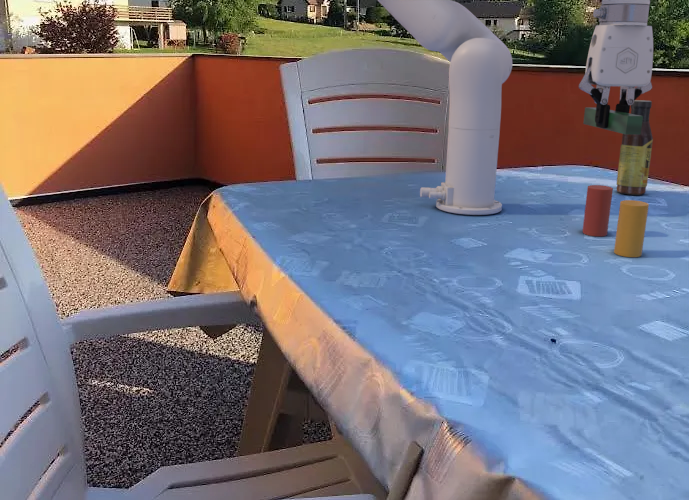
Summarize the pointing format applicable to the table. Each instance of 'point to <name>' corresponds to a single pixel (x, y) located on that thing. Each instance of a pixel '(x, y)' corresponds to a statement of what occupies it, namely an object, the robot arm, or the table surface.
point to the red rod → (597, 210)
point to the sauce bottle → (636, 154)
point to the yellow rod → (631, 228)
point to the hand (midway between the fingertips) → (610, 126)
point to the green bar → (616, 121)
